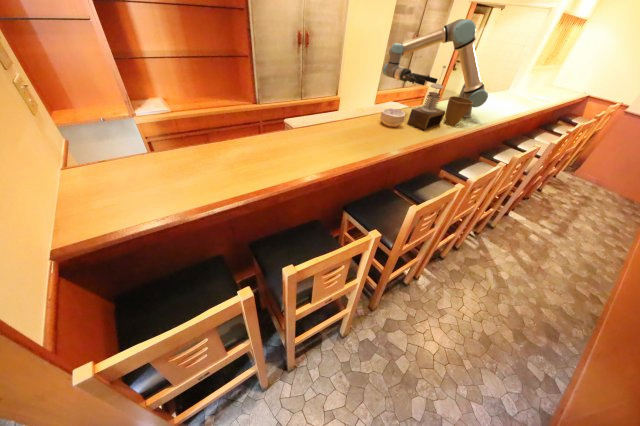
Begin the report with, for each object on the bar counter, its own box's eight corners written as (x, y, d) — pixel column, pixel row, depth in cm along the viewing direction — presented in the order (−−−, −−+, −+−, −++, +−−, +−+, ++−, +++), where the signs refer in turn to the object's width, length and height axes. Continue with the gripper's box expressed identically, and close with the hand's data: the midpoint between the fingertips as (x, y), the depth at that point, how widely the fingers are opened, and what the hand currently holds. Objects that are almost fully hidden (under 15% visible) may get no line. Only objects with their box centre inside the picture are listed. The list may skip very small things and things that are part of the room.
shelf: (423, 119, 172) (428, 105, 166) (439, 126, 165) (445, 111, 158) (407, 124, 163) (412, 108, 156) (423, 131, 155) (429, 115, 149)
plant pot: (436, 122, 170) (446, 98, 160) (443, 118, 179) (453, 95, 169) (458, 129, 163) (469, 104, 153) (464, 124, 172) (475, 100, 162)
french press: (437, 109, 160) (454, 65, 144) (435, 114, 152) (453, 68, 136) (422, 106, 163) (436, 63, 147) (419, 110, 154) (435, 65, 138)
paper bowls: (376, 125, 156) (379, 112, 151) (381, 118, 167) (384, 106, 162) (400, 130, 152) (404, 117, 147) (403, 123, 163) (407, 111, 158)
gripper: (412, 79, 171) (438, 87, 159) (389, 81, 158) (417, 90, 147) (415, 67, 166) (443, 74, 154) (393, 68, 154) (421, 76, 142)
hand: (430, 82), depth 150 cm, fingers open, 13 cm apart
